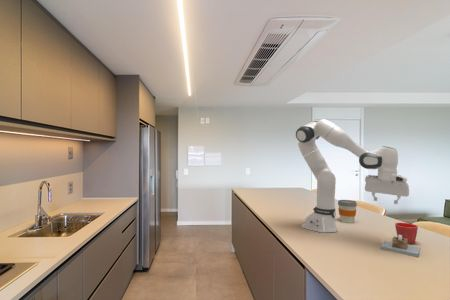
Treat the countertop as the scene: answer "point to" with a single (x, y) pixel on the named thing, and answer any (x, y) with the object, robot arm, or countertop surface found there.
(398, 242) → the collar
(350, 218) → the reusable coffee cup
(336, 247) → the countertop surface
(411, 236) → the flower pot
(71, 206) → the countertop surface
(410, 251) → the post block
